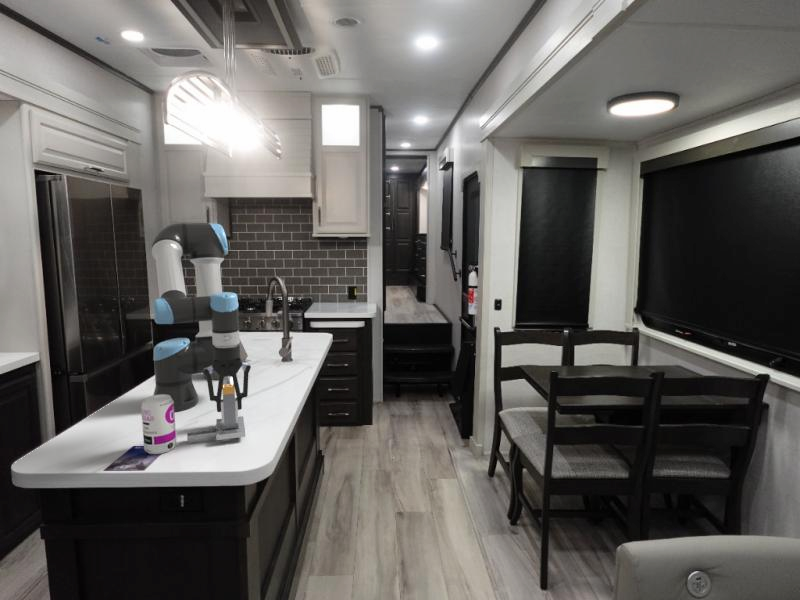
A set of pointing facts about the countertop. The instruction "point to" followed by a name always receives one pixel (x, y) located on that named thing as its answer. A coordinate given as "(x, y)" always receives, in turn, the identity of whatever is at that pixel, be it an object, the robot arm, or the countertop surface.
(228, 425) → the orange-tipped square rod
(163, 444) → the supplement can
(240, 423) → the grey piece
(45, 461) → the countertop surface
